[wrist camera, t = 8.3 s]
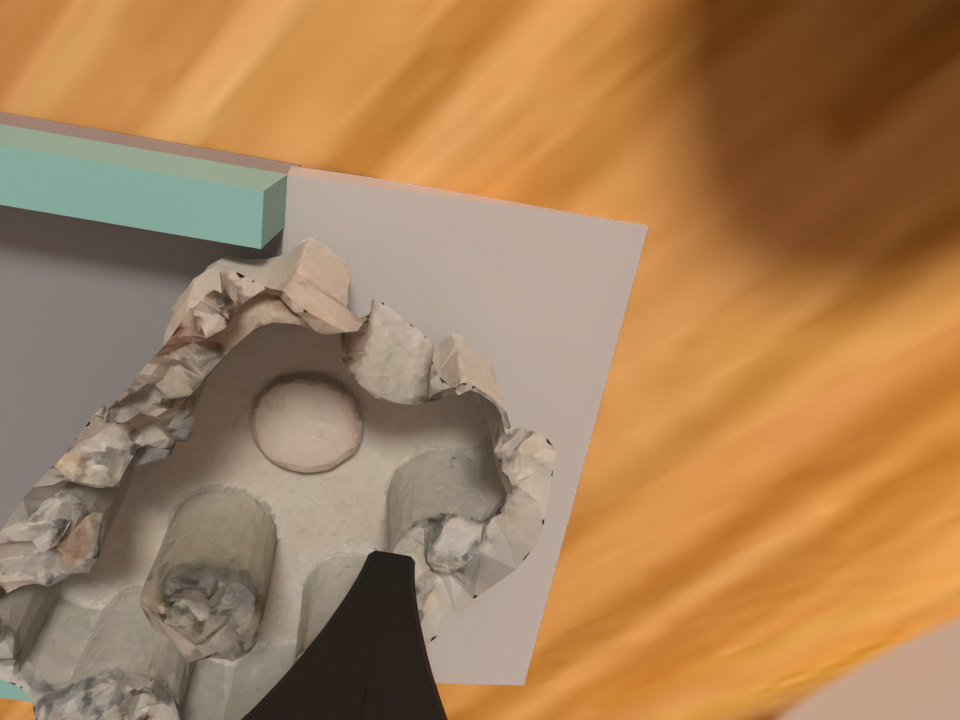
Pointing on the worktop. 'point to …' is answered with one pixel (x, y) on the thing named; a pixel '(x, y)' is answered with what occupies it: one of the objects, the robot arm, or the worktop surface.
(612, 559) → the worktop surface
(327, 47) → the worktop surface
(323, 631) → the robot arm
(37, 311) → the dock
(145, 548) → the egg carton
